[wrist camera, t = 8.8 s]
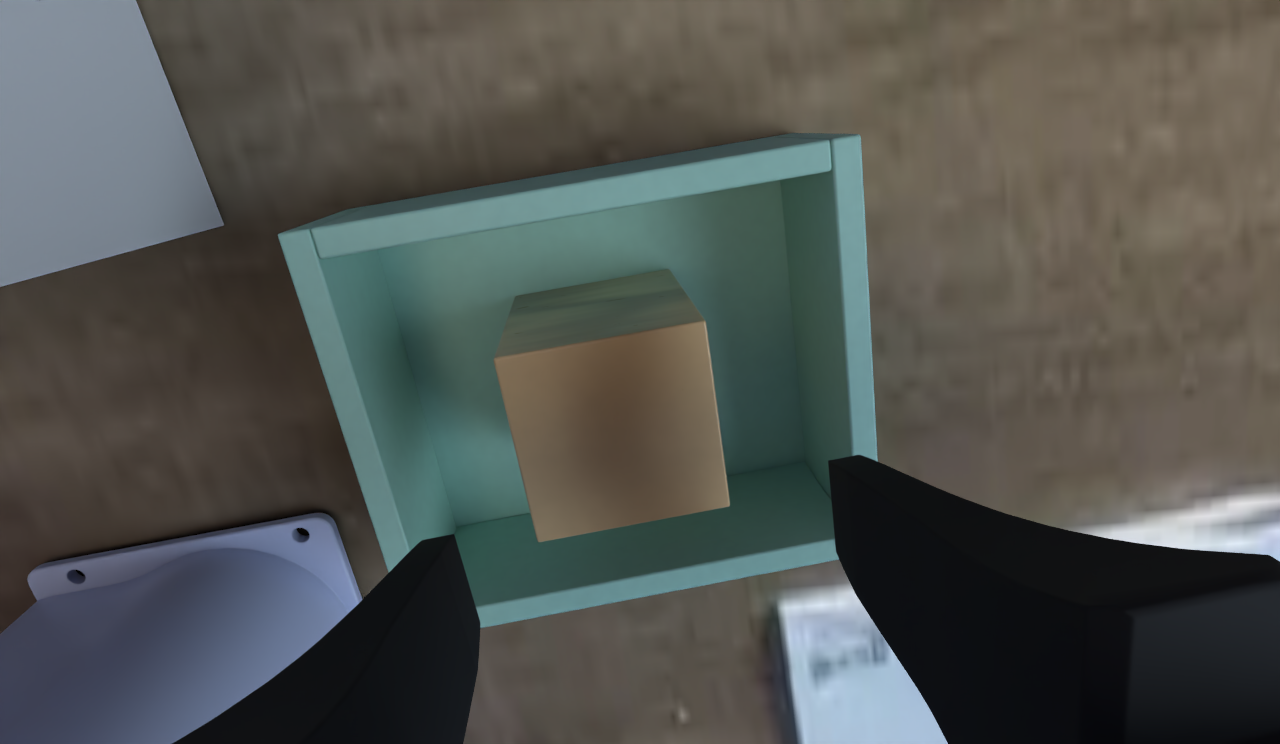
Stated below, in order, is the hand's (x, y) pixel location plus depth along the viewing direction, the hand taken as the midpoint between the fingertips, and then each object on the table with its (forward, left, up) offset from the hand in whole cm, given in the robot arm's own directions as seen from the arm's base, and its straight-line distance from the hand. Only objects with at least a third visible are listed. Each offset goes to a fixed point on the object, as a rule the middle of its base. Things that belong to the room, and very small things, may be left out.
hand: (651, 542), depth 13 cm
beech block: (0, +1, -9) cm, 9 cm away
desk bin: (0, +1, -9) cm, 9 cm away
